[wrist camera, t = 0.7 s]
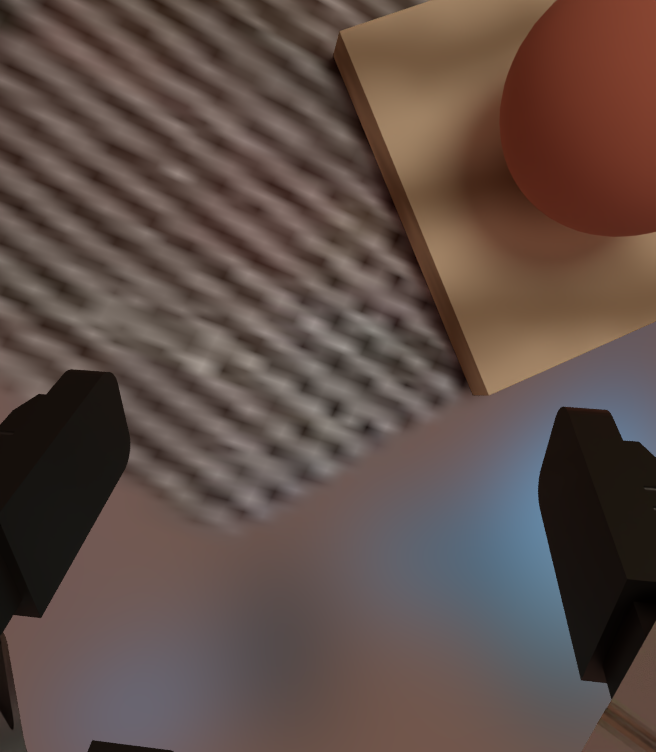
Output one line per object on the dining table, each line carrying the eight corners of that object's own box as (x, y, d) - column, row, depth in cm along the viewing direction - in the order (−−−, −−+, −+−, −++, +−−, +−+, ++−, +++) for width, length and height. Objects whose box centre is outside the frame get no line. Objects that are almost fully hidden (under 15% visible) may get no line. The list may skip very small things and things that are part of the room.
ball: (431, 92, 28) (533, -73, 18) (614, 26, 29) (801, -161, 19) (512, 291, 28) (657, 236, 18) (690, 217, 30) (913, 128, 20)
